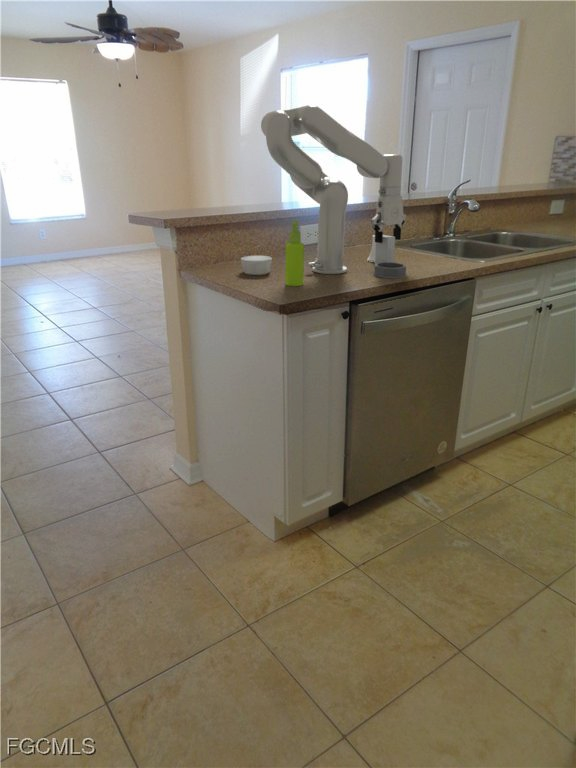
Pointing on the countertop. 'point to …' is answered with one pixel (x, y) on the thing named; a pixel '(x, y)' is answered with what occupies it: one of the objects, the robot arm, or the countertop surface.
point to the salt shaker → (372, 251)
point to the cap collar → (390, 270)
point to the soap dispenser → (294, 258)
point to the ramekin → (256, 264)
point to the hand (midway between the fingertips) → (387, 240)
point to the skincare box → (385, 250)
